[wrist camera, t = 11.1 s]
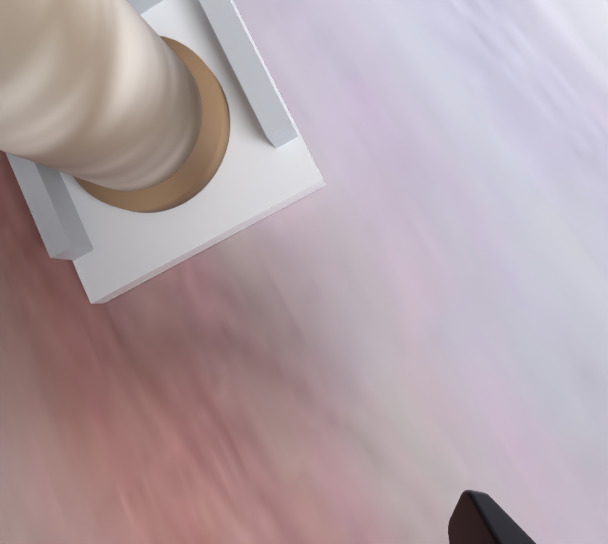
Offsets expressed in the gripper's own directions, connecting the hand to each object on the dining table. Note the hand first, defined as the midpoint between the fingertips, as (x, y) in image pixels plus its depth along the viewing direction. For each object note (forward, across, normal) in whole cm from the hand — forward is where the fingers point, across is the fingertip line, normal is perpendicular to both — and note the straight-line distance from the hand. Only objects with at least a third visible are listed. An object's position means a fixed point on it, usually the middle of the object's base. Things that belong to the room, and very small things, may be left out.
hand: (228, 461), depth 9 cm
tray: (+15, +5, -2) cm, 16 cm away
